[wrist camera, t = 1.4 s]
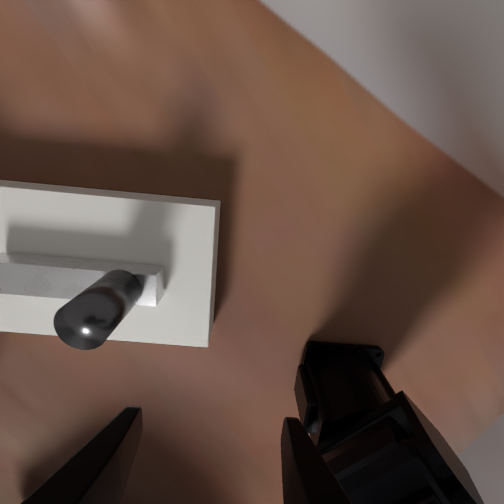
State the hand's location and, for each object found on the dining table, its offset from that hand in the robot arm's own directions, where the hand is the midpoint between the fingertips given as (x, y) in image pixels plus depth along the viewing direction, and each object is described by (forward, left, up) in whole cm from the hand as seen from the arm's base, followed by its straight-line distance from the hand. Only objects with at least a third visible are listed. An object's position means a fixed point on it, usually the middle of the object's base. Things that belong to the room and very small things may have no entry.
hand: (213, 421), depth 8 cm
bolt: (+9, 0, -10) cm, 14 cm away
